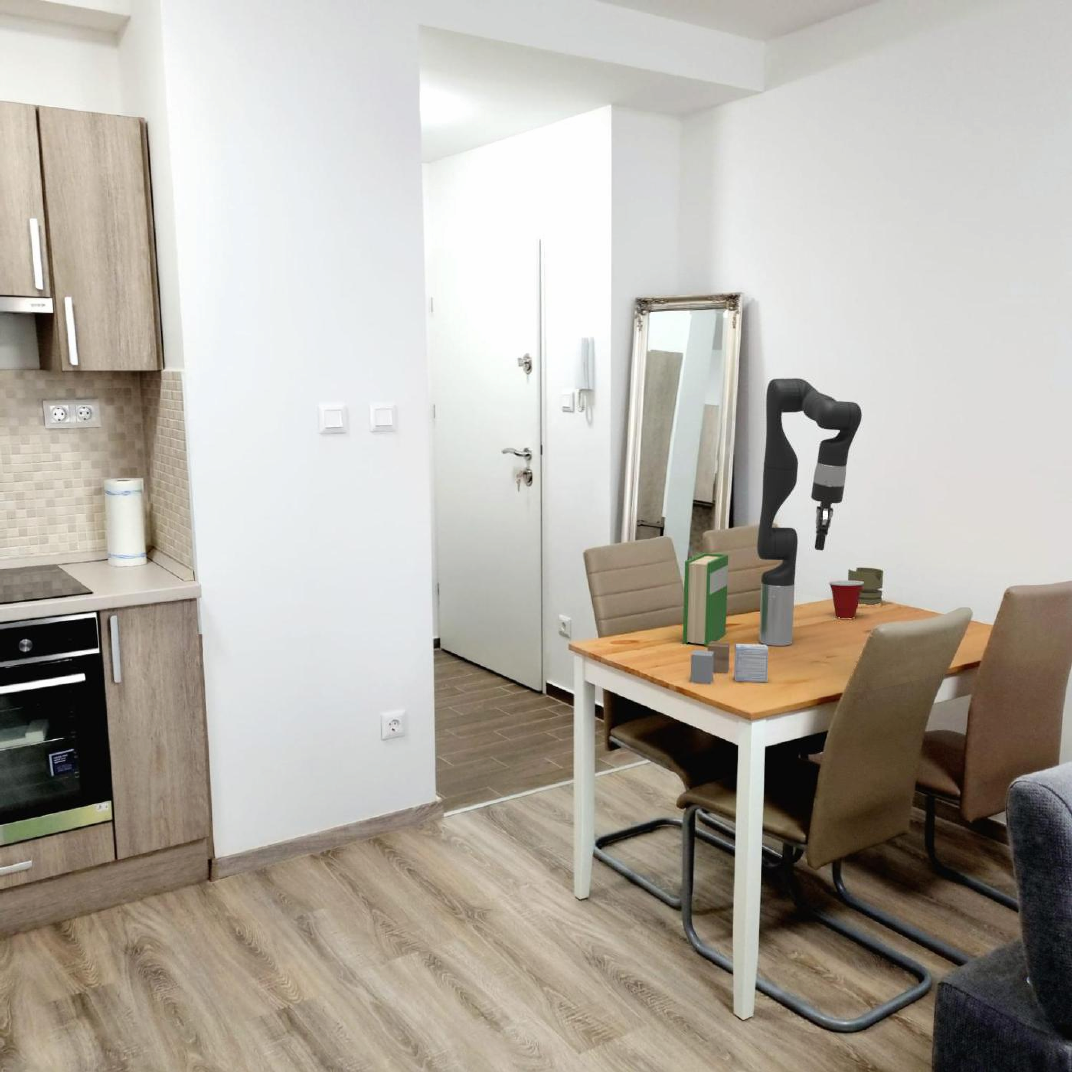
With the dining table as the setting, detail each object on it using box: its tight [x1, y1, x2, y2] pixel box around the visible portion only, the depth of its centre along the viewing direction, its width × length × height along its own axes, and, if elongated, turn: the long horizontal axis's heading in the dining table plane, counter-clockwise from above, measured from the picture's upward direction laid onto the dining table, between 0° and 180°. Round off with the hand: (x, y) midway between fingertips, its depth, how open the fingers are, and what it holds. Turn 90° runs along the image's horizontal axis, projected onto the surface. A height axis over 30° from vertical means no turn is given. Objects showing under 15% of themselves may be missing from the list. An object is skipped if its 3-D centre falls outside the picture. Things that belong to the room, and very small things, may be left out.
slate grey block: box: [689, 649, 714, 685], centre depth 254 cm, size 5×5×7 cm
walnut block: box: [707, 641, 731, 675], centre depth 263 cm, size 5×5×7 cm
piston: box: [847, 567, 884, 605], centre depth 351 cm, size 11×12×11 cm
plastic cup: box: [828, 580, 864, 618], centre depth 329 cm, size 11×11×12 cm
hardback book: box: [682, 552, 729, 648], centre depth 297 cm, size 18×7×24 cm, turn 154°
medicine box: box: [733, 643, 769, 683], centre depth 255 cm, size 8×4×9 cm, turn 83°
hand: (818, 549), depth 258 cm, fingers closed
